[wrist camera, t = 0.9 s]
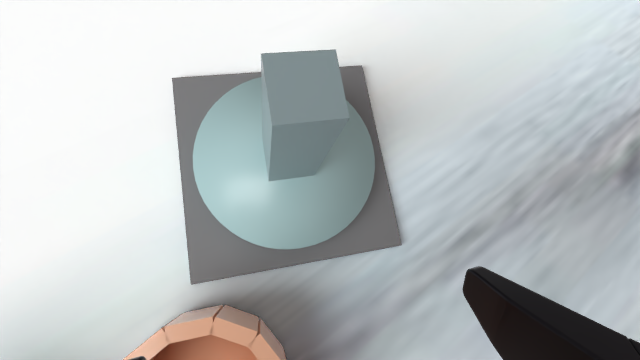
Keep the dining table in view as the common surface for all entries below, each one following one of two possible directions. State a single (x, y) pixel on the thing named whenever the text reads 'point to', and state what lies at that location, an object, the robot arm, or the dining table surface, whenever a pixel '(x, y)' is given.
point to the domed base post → (285, 154)
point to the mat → (238, 254)
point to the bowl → (212, 337)
